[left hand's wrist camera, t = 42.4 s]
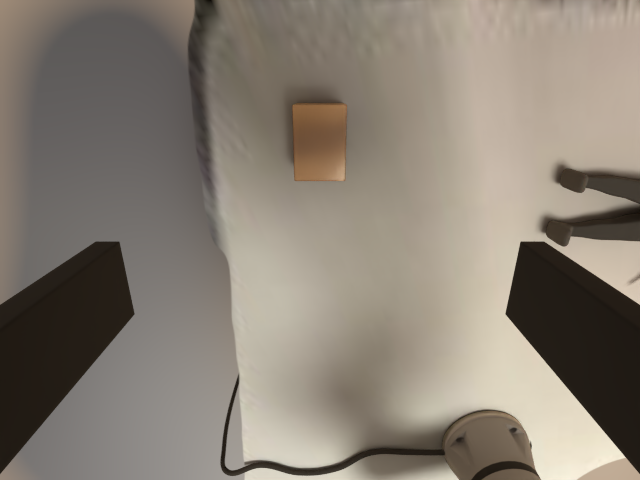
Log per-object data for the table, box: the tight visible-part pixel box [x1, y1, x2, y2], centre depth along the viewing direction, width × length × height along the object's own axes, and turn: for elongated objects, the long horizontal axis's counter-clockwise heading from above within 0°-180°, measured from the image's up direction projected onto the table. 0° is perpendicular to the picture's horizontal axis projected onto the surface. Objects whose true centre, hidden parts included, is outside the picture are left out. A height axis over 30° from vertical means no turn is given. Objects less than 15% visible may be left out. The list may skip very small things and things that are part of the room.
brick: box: [292, 103, 347, 181], centre depth 47 cm, size 9×6×7 cm
